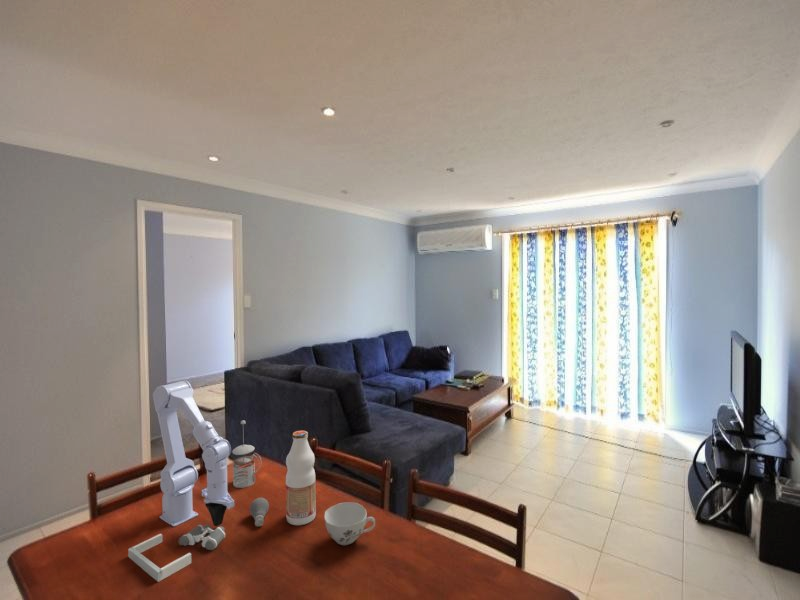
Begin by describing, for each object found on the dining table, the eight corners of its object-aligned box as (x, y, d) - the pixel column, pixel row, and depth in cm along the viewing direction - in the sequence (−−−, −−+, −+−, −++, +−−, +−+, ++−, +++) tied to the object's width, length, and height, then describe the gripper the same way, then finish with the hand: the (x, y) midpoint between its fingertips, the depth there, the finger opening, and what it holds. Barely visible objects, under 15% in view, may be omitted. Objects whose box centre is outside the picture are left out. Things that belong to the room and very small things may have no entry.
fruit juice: (296, 529, 122) (295, 440, 122) (280, 518, 129) (279, 433, 128) (321, 517, 129) (320, 432, 129) (305, 507, 135) (304, 425, 135)
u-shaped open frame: (128, 557, 110) (128, 549, 110) (160, 541, 117) (160, 533, 117) (158, 582, 100) (158, 572, 100) (191, 563, 107) (191, 553, 107)
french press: (238, 478, 157) (237, 416, 157) (266, 479, 156) (265, 416, 156) (225, 490, 147) (224, 424, 147) (254, 492, 146) (253, 425, 146)
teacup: (319, 552, 111) (319, 524, 111) (329, 526, 124) (329, 501, 124) (373, 553, 111) (372, 525, 111) (377, 527, 123) (376, 502, 123)
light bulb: (262, 512, 123) (262, 490, 132) (245, 523, 122) (246, 500, 131) (272, 524, 125) (272, 501, 134) (255, 535, 124) (256, 511, 133)
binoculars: (178, 546, 115) (178, 534, 115) (197, 530, 123) (197, 519, 123) (214, 552, 112) (214, 539, 112) (231, 535, 120) (231, 523, 120)
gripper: (191, 480, 123) (192, 523, 123) (218, 492, 115) (219, 538, 115) (213, 471, 129) (213, 512, 129) (240, 483, 121) (240, 526, 121)
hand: (217, 524), depth 123 cm, fingers closed
